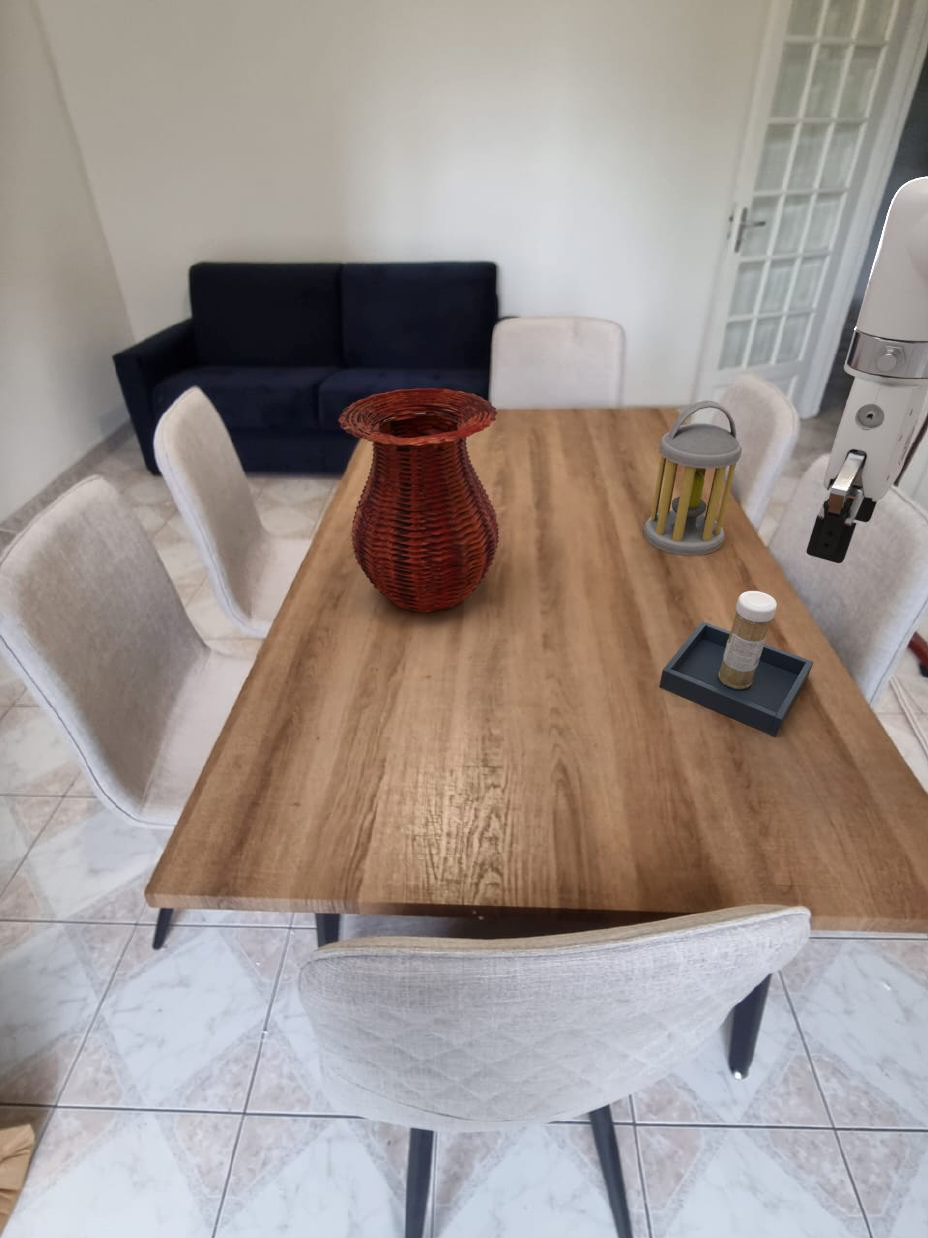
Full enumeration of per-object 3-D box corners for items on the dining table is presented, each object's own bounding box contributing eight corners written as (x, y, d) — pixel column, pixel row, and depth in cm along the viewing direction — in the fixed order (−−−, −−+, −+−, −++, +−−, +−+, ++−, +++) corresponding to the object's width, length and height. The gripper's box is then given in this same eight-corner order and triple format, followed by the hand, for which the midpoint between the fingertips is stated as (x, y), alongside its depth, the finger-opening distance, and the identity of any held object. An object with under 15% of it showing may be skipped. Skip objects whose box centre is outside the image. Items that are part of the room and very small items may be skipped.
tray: (807, 678, 93) (813, 661, 91) (775, 737, 84) (781, 719, 83) (698, 637, 101) (702, 620, 99) (659, 687, 92) (662, 669, 90)
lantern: (711, 517, 130) (740, 387, 115) (732, 555, 119) (767, 416, 104) (637, 517, 131) (656, 388, 116) (651, 555, 120) (674, 417, 105)
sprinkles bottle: (729, 664, 95) (752, 585, 87) (759, 681, 92) (785, 600, 84) (710, 678, 93) (731, 598, 84) (740, 696, 90) (764, 614, 82)
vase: (350, 563, 120) (326, 394, 102) (478, 544, 124) (476, 379, 106) (368, 642, 102) (343, 453, 84) (517, 616, 106) (523, 432, 88)
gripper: (930, 389, 48) (857, 588, 58) (968, 337, 59) (901, 513, 69) (820, 373, 52) (769, 562, 62) (874, 327, 63) (823, 495, 73)
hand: (838, 536), depth 66 cm, fingers open, 9 cm apart
